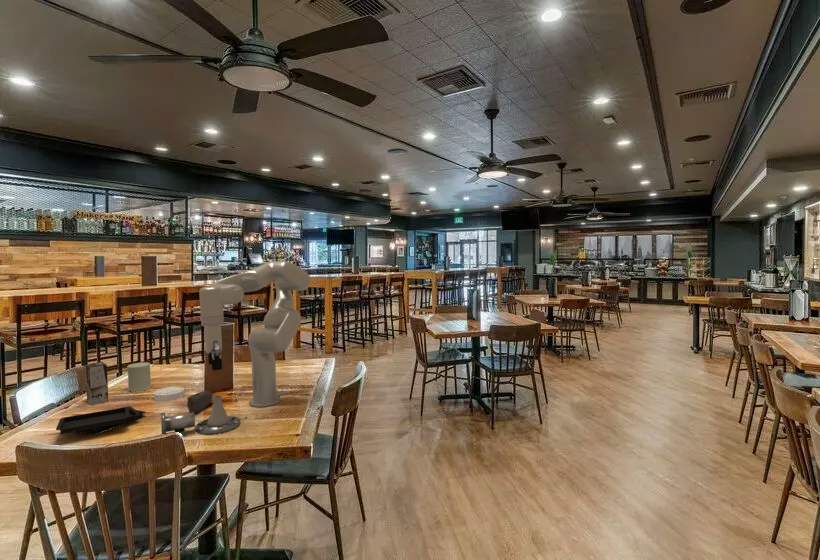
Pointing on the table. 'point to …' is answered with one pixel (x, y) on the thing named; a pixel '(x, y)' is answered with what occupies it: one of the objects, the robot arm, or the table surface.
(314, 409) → the table surface
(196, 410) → the perforated stone tool
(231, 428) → the pipe fitting
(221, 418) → the flask
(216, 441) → the table surface
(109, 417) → the tray
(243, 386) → the table surface
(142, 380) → the can
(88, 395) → the coffee box
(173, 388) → the mooncake
